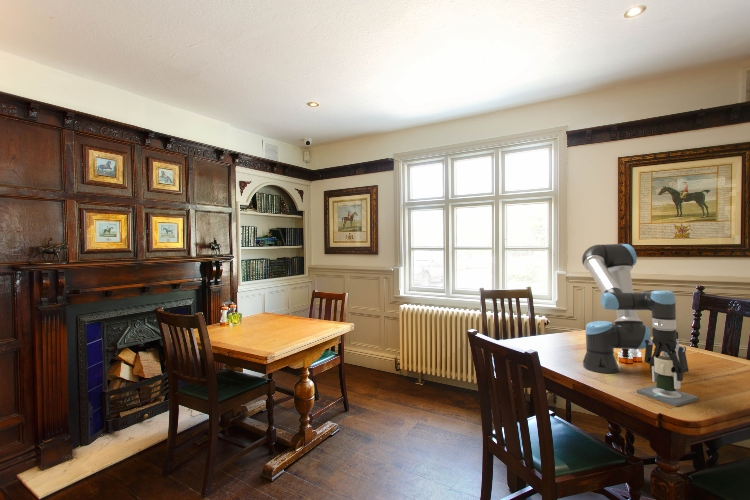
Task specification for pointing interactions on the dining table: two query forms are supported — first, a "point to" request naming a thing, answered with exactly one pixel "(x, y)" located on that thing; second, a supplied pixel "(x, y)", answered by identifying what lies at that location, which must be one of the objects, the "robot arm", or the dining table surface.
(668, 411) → the dining table surface
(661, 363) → the character mug
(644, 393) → the charging pad
